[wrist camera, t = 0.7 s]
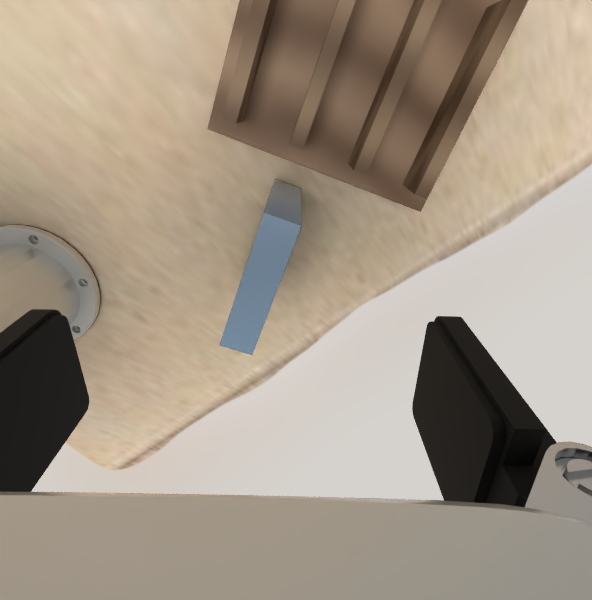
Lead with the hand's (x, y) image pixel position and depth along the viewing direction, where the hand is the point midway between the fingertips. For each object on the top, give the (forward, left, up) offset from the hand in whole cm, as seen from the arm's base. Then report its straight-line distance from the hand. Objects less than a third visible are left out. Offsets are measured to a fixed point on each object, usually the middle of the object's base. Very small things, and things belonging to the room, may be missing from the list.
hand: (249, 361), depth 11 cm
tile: (-5, 0, -27) cm, 27 cm away
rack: (+10, -2, -27) cm, 29 cm away
